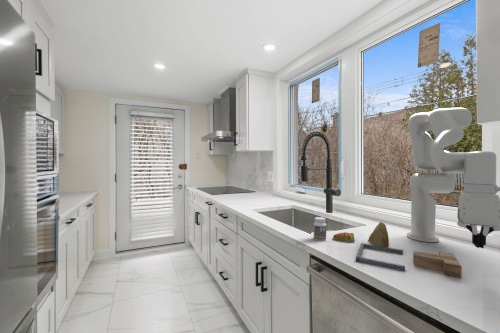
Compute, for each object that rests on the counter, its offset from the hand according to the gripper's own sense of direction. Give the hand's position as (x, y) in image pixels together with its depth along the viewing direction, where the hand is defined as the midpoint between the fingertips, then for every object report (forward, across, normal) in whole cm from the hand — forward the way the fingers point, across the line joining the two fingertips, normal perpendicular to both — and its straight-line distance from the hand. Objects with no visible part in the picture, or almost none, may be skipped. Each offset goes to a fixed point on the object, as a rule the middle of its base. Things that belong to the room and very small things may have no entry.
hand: (478, 246), depth 78 cm
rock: (+9, +29, -15) cm, 34 cm away
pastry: (+9, +43, -16) cm, 46 cm away
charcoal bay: (+9, +27, -1) cm, 29 cm away
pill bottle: (+9, +53, -10) cm, 55 cm away
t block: (+9, +11, -1) cm, 15 cm away
